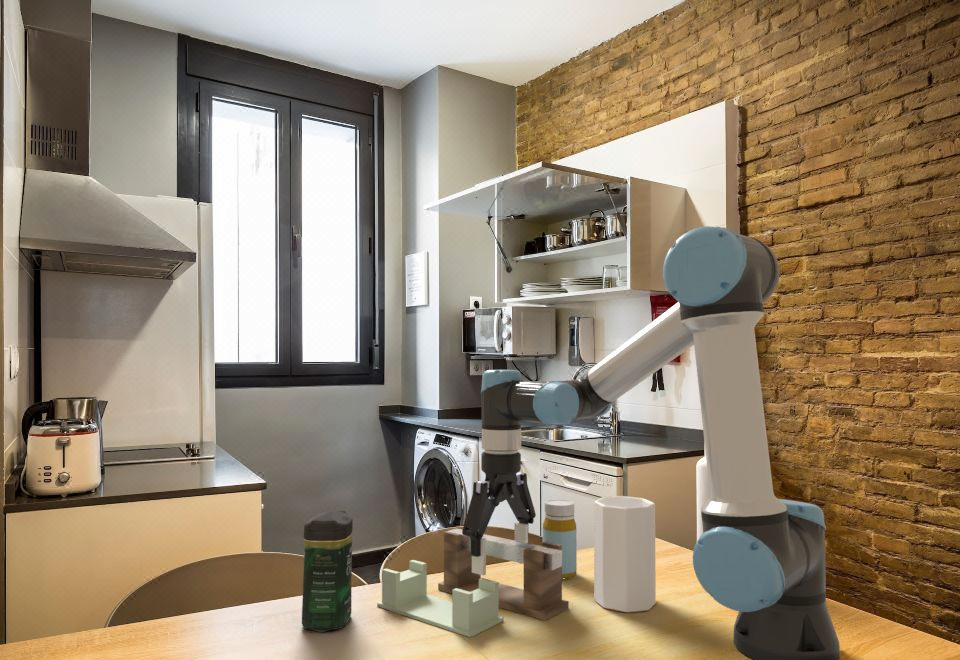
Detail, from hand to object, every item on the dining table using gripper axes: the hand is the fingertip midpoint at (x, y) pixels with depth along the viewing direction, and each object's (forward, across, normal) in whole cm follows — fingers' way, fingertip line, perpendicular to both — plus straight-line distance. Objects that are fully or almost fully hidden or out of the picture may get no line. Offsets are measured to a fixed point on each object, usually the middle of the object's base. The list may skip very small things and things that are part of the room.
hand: (500, 565), depth 130 cm
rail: (-2, 0, 0) cm, 2 cm away
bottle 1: (+6, -19, +1) cm, 20 cm away
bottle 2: (+6, -39, +27) cm, 48 cm away
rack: (+6, 0, 0) cm, 6 cm away
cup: (+6, -13, +19) cm, 24 cm away
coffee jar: (+6, +28, -16) cm, 33 cm away
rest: (+6, +13, -4) cm, 15 cm away
